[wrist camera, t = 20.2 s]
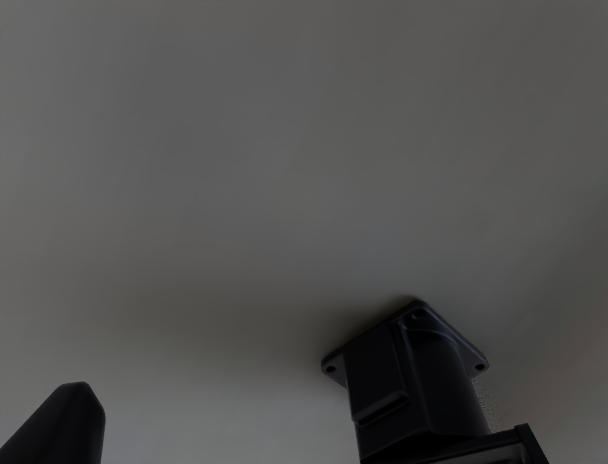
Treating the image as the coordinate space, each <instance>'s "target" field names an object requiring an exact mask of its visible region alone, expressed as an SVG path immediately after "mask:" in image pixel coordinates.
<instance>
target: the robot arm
mask: <svg viewBox="0 0 608 464" xmlns="http://www.w3.org/2000/svg"><path fill="white" fill-rule="evenodd" d="M418 310H421V311H419V312H416V311H418ZM488 367H489V364H488V361H487V359H486V357H485V356H484V355H483V354H482V353H481V352H480V351H478V350H477V349H476V348H475V347H474V346H473V345H472V344H471V343H470V342H468V341H467V340H466V339H465V338H464V337H463V336H462V335H461V334H460V333H459V332H457V331H456V330H455V329H454V328H453V327H452V326H451V325H450V324H449V323H447V322H446V321H445V320H444V319H443V318H442V317H441V316H440V315H439V314H438V313H436V312H435V311H434V310H433V309H432V308H431V307H430V306H429V305H428V304H426V303H425V302H423V301H414V302H412V303H410V304H409V305H407V306H405V307H404V308H402V309H401V310H399V311H398V312H396V313H394V314H393V315H391V316H390V317H388V318H387V319H385V320H383V321H382V322H380V323H379V324H377V325H376V326H374V327H372V328H371V329H369V330H368V331H366V332H365V333H363V334H362V335H360V336H358V337H357V338H355V339H354V340H352V341H351V342H349V343H347V344H346V345H344V346H343V347H341V348H340V349H338V350H336V351H335V352H333V353H332V354H330V355H329V356H327V357H326V358H324V359H323V360H322V361H321V369H322V372H323V373H324V374H325V375H327V376H328V377H330V378H331V379H333V380H334V381H336V382H337V383H339V384H340V385H341V386H343V387H344V388H346V389H347V390H348V398H349V405H350V412H351V419H352V421H353V422H354V424H355V431H356V438H357V445H358V451H359V458H360V464H549V462H548V460H547V458H546V457H545V455H544V453H543V451H542V449H541V447H540V445H539V444H538V442H537V440H536V438H535V436H534V434H533V433H532V431H531V429H530V427H529V425H528V423H525V424H521V425H516V426H514V429H510V430H506V431H501V432H497V433H493V434H491V432H490V429H489V427H488V424H487V421H486V419H485V416H484V414H483V411H482V408H481V406H480V403H479V400H478V398H477V395H476V393H475V390H474V387H473V385H472V382H471V378H473V377H475V376H477V375H479V374H481V373H482V372H484V371H486V370H487V369H488ZM105 422H106V419H105V412H104V409H103V407H102V405H101V404H100V402H99V400H98V399H97V397H96V395H95V394H94V392H93V391H92V389H91V387H90V386H89V384H87V383H86V382H74V383H66V384H63V385H60V386H59V387H58V388H57V389H56V390H55V391H54V392H53V393H52V394H51V395H50V396H49V397H48V398H47V399H46V400H45V401H44V402H43V404H42V405H41V406H40V407H39V408H38V409H37V410H36V411H35V412H34V413H33V414H32V415H31V416H30V417H29V419H28V420H27V421H26V422H25V423H24V424H23V425H22V426H21V427H20V428H19V429H18V430H17V431H16V432H15V434H14V435H13V436H12V437H11V438H10V439H9V440H8V441H7V442H6V443H5V444H4V445H3V446H2V447H1V448H0V464H101V456H102V447H103V439H104V431H105Z"/></svg>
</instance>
